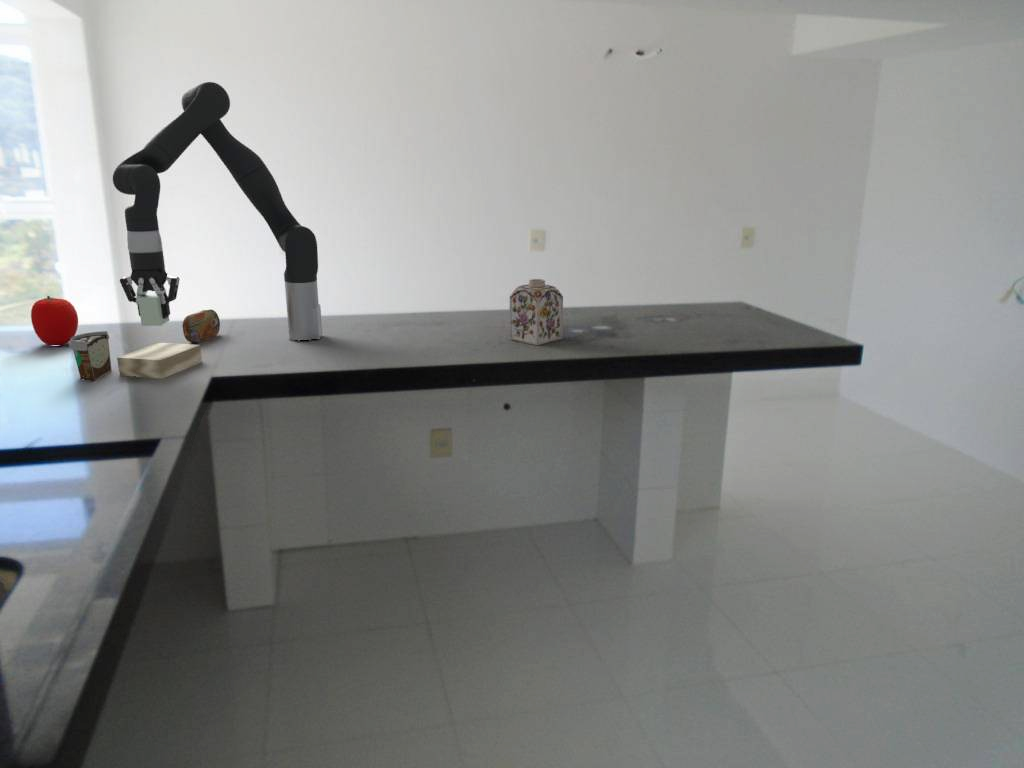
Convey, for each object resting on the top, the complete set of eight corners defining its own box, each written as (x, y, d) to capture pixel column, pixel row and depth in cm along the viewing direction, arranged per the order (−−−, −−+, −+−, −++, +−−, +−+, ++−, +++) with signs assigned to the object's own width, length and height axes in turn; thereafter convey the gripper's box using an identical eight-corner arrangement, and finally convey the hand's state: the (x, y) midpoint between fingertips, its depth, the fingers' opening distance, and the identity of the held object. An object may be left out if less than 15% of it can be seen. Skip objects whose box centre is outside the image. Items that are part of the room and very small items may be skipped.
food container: (89, 369, 188) (82, 331, 185) (114, 369, 188) (108, 330, 185) (65, 383, 176) (57, 342, 173) (92, 382, 176) (85, 342, 173)
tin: (192, 345, 212) (188, 317, 210) (182, 345, 213) (178, 316, 210) (222, 334, 226) (219, 307, 224) (212, 333, 227) (209, 306, 224)
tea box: (169, 320, 188) (165, 293, 186) (160, 325, 183) (156, 297, 181) (151, 320, 188) (147, 293, 186) (141, 325, 182) (137, 297, 180)
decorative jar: (563, 339, 221) (564, 279, 216) (537, 346, 213) (538, 284, 208) (533, 333, 229) (534, 275, 224) (507, 339, 221) (508, 279, 215)
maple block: (202, 363, 195) (200, 344, 194) (162, 380, 180) (159, 360, 179) (162, 360, 198) (159, 342, 196) (120, 376, 183) (116, 357, 181)
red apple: (30, 344, 213) (21, 295, 209) (73, 337, 221) (65, 290, 217) (44, 351, 205) (35, 301, 200) (88, 344, 212) (80, 296, 208)
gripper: (181, 247, 184) (189, 315, 189) (122, 247, 183) (131, 315, 188) (170, 251, 177) (178, 321, 182) (108, 251, 176) (119, 321, 181)
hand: (154, 317), depth 185 cm, fingers closed on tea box, 4 cm apart
